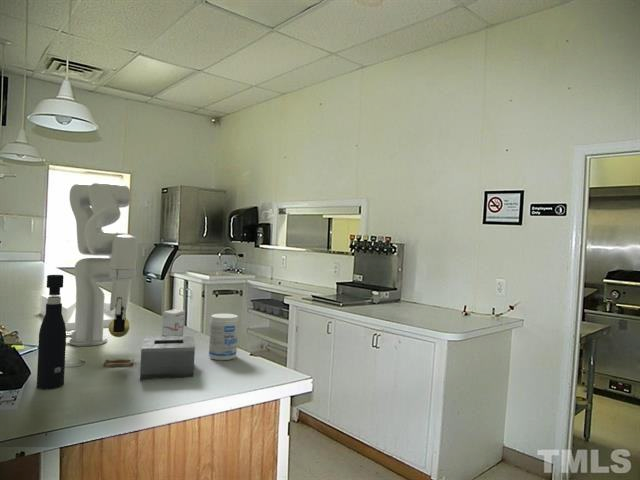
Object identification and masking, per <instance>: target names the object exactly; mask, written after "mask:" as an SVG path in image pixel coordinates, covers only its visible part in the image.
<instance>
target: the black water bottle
mask: <svg viewBox="0 0 640 480" xmlns="http://www.w3.org/2000/svg"><path fill="white" fill-rule="evenodd" d="M46 288H48V290H49V293H48V296H50V297H48V299H47V300H48V301H47V302H48V303H47V304H46V314H45V316H44V317H43V318H42V319H43V320H42V321H41V325H40V328H39V332H38V349H37V351H38V352H37V366H36V367H37V369H36V370H37V371H36V389H38V390H54V389H58V388H61V387H63V386H64V385H65V369H66V367H65V366H66V347H67V346H66V345H67V344H66V343H67V338H66V332H67V331H66V327H65V322H64V319H63V316H62V303H61V297H62V296H60V295H61V289H62V288H64V275H63V274H48V275H46Z"/></svg>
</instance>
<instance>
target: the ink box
mask: <svg viewBox="0 0 640 480" xmlns="http://www.w3.org/2000/svg"><path fill="white" fill-rule="evenodd" d="M185 314H186V310H183V309H175V308H174V309H170V310H165V311H163V315H162V316H163V317H162V328H161V336H184V330H185V328H184V327H185Z"/></svg>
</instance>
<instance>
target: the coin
mask: <svg viewBox="0 0 640 480" xmlns="http://www.w3.org/2000/svg"><path fill="white" fill-rule="evenodd" d="M124 319H125V328H124V332H113V327H114V319H113V320H112V321H111V323H110V325H109V327H108V332H109V333H110V335H111V336H113V337H115V338H121V337H125V336H126V335H127V334H128V332H129V330H130V328H131V323H130V321H129V320H128V319H127V317H126V318H124Z"/></svg>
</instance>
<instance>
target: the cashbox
mask: <svg viewBox="0 0 640 480" xmlns="http://www.w3.org/2000/svg"><path fill="white" fill-rule="evenodd" d="M195 349H196V345H195V337H194V335H183V336H162V335H161V336H160V335H159V336H144V339H143V343H142V345H141V348H140V369H139V371H140V372H139V380H140V381H141V380H158V379H159V380H161V379H181V378H182V379H183V378H194V374H195V373H194V372H195V356H196V354H195V353H196V350H195Z"/></svg>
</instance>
